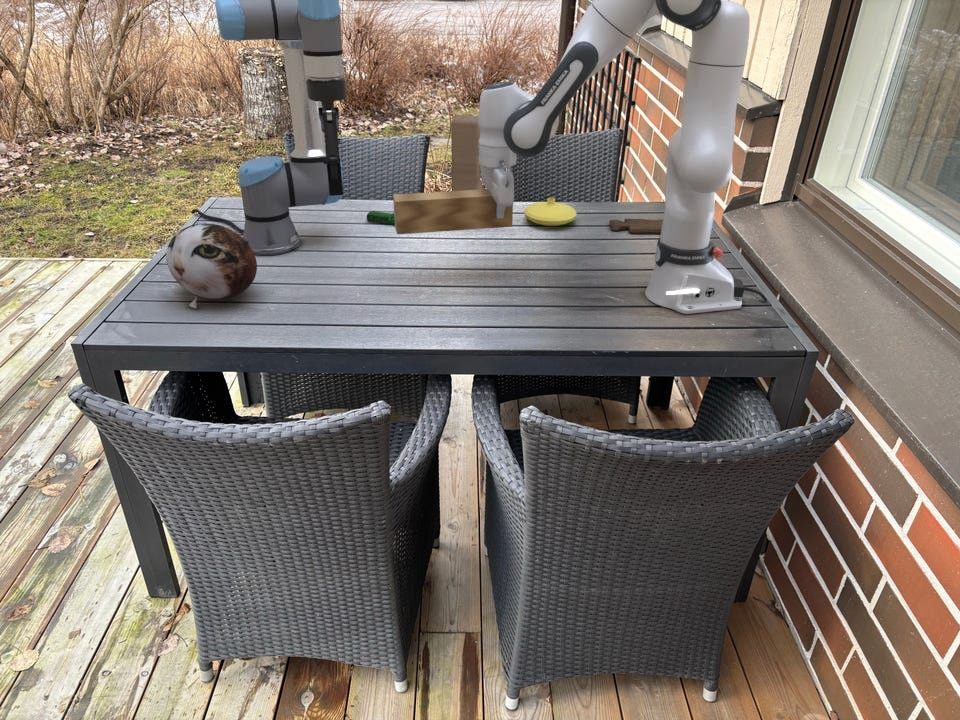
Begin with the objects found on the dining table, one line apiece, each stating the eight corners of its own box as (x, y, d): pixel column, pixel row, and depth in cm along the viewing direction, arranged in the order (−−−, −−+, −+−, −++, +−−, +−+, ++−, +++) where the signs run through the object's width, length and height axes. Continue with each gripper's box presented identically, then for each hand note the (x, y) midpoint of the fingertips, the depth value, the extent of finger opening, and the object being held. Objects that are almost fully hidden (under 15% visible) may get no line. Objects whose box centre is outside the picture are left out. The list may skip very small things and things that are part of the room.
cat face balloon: (130, 285, 161) (164, 203, 163) (192, 308, 177) (221, 233, 178) (195, 307, 151) (229, 220, 152) (254, 330, 166) (285, 250, 168)
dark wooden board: (700, 236, 208) (693, 224, 217) (701, 230, 207) (694, 219, 216) (612, 233, 208) (607, 221, 217) (613, 227, 207) (608, 216, 216)
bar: (397, 234, 169) (395, 201, 165) (394, 226, 173) (392, 194, 169) (512, 226, 173) (513, 194, 169) (507, 219, 178) (508, 187, 174)
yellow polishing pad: (541, 209, 225) (542, 187, 222) (585, 220, 218) (587, 197, 214) (513, 223, 214) (514, 200, 211) (559, 234, 206) (560, 211, 203)
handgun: (435, 206, 218) (413, 220, 206) (436, 216, 220) (413, 230, 208) (389, 200, 224) (364, 213, 212) (389, 209, 225) (365, 223, 213)
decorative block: (501, 226, 212) (504, 122, 196) (451, 223, 213) (450, 120, 198) (504, 218, 218) (507, 116, 203) (455, 215, 220) (455, 114, 204)
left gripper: (348, 89, 129) (356, 202, 140) (342, 67, 150) (350, 167, 161) (305, 90, 128) (317, 204, 139) (305, 67, 149) (316, 169, 160)
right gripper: (521, 167, 159) (519, 226, 166) (501, 144, 176) (500, 199, 183) (494, 168, 157) (493, 228, 164) (475, 145, 175) (476, 200, 182)
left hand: (335, 185), depth 150 cm, fingers open, 13 cm apart
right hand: (496, 213), depth 174 cm, fingers closed on bar, 5 cm apart
